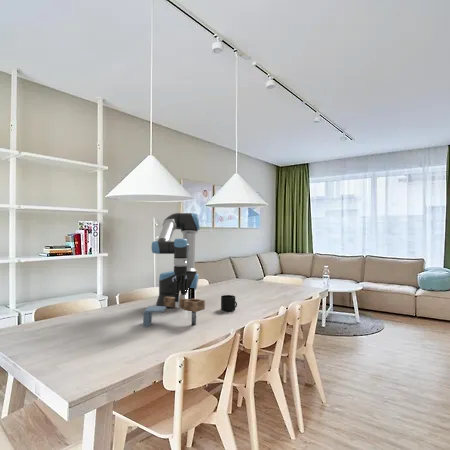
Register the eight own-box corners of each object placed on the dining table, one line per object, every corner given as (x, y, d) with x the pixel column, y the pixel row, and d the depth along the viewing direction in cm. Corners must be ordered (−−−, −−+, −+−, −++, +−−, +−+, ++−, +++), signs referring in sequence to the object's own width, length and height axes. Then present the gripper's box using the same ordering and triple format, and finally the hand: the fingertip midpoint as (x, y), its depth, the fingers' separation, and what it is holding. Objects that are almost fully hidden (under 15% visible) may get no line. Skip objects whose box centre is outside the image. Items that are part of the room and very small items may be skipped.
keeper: (166, 321, 189) (166, 306, 189) (163, 327, 178) (163, 310, 178) (146, 321, 189) (147, 305, 189) (142, 327, 178) (142, 310, 178)
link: (160, 306, 191) (160, 297, 191) (170, 304, 198) (170, 295, 198) (195, 312, 178) (195, 302, 178) (204, 309, 185) (204, 300, 185)
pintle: (190, 324, 184) (190, 306, 184) (193, 323, 186) (193, 306, 186) (194, 325, 182) (194, 307, 182) (196, 324, 184) (196, 306, 185)
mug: (232, 313, 210) (232, 299, 210) (217, 310, 217) (218, 296, 218) (241, 310, 217) (241, 296, 217) (227, 307, 225) (227, 294, 225)
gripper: (176, 267, 181) (175, 310, 180) (194, 264, 195) (193, 304, 194) (165, 266, 185) (165, 308, 184) (184, 264, 199) (183, 303, 198)
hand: (179, 306), depth 189 cm, fingers closed on link, 3 cm apart
